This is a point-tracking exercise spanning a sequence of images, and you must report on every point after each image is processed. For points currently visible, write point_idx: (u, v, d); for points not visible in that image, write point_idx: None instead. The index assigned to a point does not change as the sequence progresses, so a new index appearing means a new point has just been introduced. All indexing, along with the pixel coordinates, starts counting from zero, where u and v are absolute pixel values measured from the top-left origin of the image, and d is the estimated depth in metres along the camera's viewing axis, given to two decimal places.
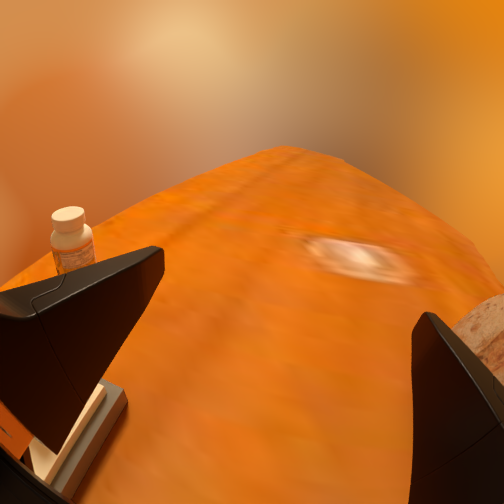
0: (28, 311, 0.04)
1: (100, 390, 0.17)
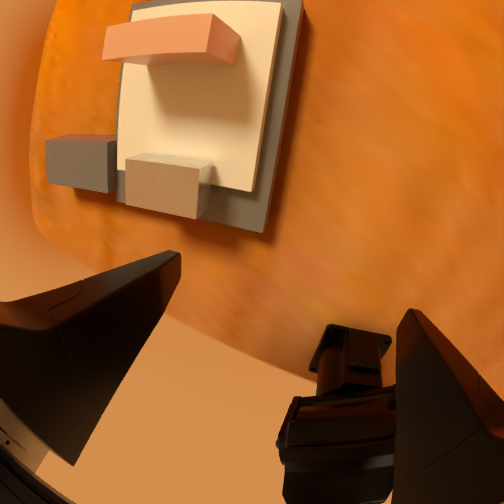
0: (45, 322, 0.04)
1: (279, 9, 0.12)
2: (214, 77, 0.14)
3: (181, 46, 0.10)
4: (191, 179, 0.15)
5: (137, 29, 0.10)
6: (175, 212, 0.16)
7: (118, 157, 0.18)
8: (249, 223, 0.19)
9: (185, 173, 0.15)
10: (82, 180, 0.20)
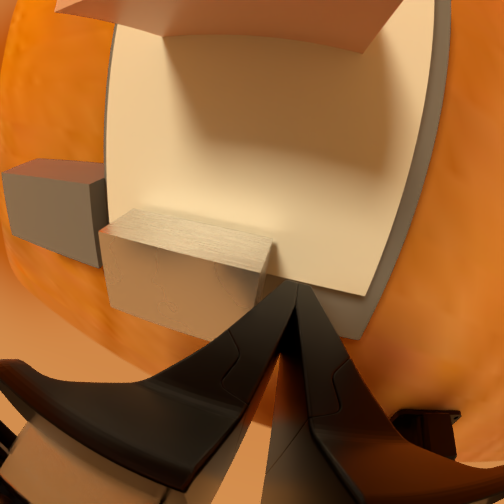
0: (230, 402, 0.04)
1: None
2: (317, 70, 0.06)
3: None
4: (238, 289, 0.08)
5: None
6: (204, 336, 0.09)
7: (110, 213, 0.10)
8: (342, 328, 0.11)
9: (226, 277, 0.07)
10: (57, 241, 0.12)
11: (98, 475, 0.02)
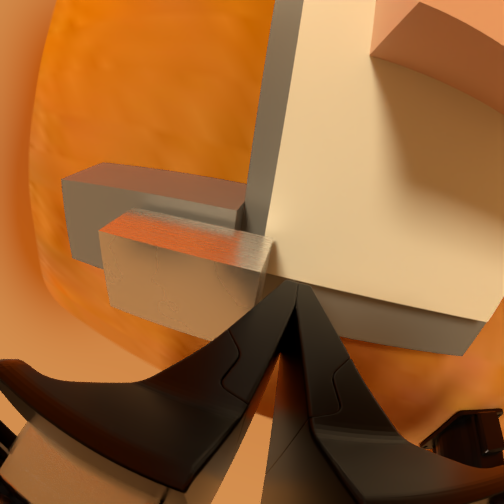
0: (230, 402, 0.04)
1: None
2: (501, 139, 0.06)
3: None
4: (238, 289, 0.07)
5: None
6: (204, 336, 0.09)
7: None
8: (453, 347, 0.11)
9: (226, 277, 0.07)
10: None
11: (98, 475, 0.02)
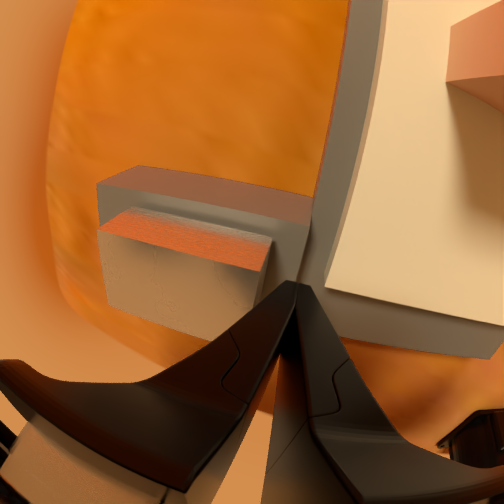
0: (231, 402, 0.04)
1: None
2: None
3: None
4: (238, 288, 0.07)
5: None
6: (203, 336, 0.09)
7: (331, 263, 0.09)
8: (483, 352, 0.10)
9: (225, 276, 0.07)
10: None
11: (98, 475, 0.02)
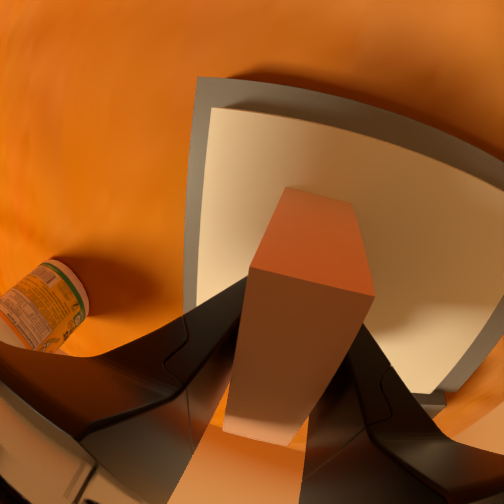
0: (168, 381, 0.04)
1: (227, 110, 0.07)
2: (366, 243, 0.08)
3: (333, 346, 0.05)
4: None
5: (248, 403, 0.06)
6: None
7: (416, 391, 0.11)
8: None
9: None
10: None
11: (42, 438, 0.02)
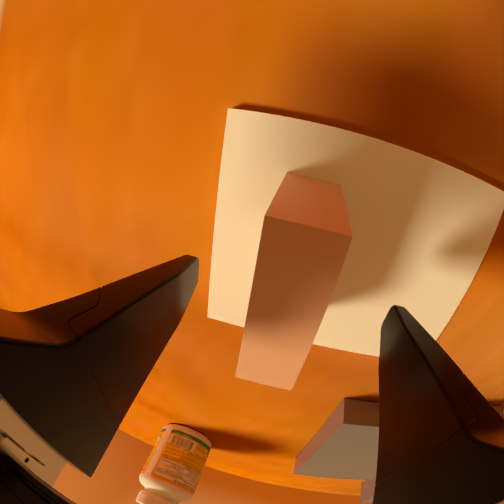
0: (66, 334, 0.04)
1: (240, 111, 0.09)
2: (353, 218, 0.10)
3: (325, 278, 0.07)
4: None
5: (259, 341, 0.08)
6: None
7: None
8: None
9: None
10: None
11: None
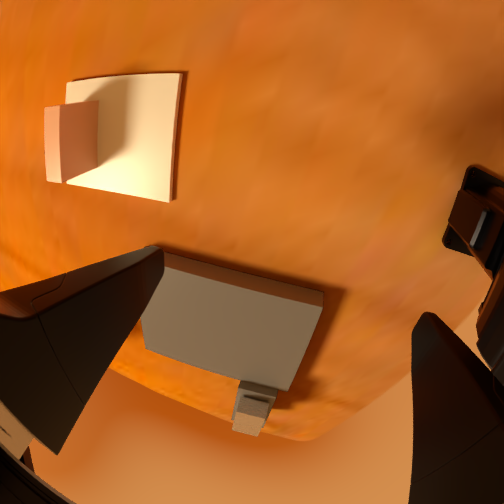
0: (28, 311, 0.04)
1: (70, 82, 0.18)
2: (105, 113, 0.19)
3: (57, 121, 0.15)
4: (242, 415, 0.25)
5: (48, 155, 0.17)
6: (261, 423, 0.26)
7: (160, 200, 0.22)
8: (313, 315, 0.22)
9: (239, 415, 0.26)
10: None
11: None
